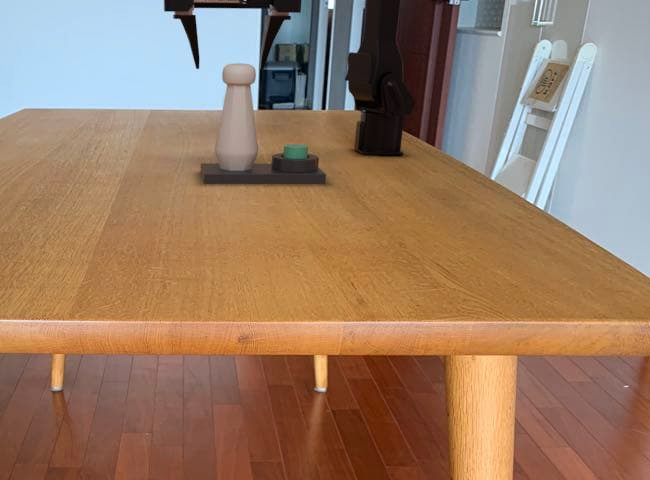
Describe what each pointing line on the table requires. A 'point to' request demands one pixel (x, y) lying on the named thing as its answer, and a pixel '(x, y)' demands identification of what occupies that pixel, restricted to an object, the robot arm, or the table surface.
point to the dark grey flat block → (268, 172)
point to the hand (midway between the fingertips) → (229, 69)
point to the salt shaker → (237, 120)
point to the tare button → (295, 151)
